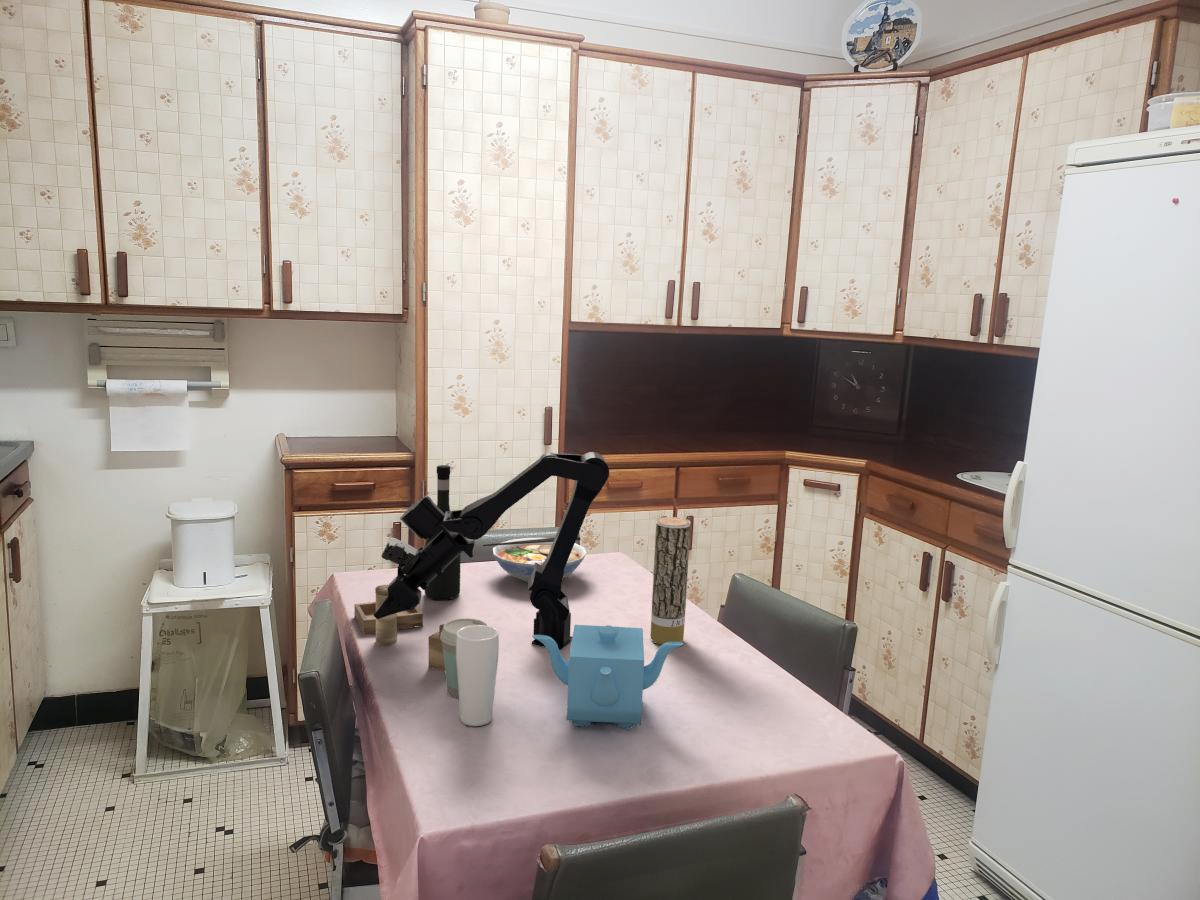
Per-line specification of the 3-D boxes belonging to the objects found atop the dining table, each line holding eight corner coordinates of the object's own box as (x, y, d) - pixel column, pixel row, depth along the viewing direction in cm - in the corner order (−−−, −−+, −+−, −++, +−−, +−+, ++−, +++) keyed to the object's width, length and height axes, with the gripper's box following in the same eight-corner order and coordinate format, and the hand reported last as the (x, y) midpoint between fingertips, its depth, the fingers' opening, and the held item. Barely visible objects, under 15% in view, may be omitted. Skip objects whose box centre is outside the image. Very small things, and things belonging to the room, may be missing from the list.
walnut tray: (411, 610, 191) (411, 597, 191) (422, 626, 182) (423, 613, 182) (354, 616, 186) (354, 604, 186) (363, 633, 177) (363, 620, 177)
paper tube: (645, 643, 178) (651, 522, 174) (656, 631, 185) (662, 515, 180) (677, 649, 176) (684, 527, 171) (687, 637, 182) (694, 519, 178)
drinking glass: (462, 733, 139) (464, 643, 137) (449, 714, 145) (450, 627, 142) (503, 725, 142) (505, 636, 140) (488, 707, 148) (490, 622, 146)
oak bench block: (437, 661, 165) (437, 621, 164) (484, 672, 162) (484, 630, 160) (428, 667, 163) (428, 626, 161) (475, 678, 159) (476, 636, 158)
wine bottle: (417, 595, 201) (417, 465, 196) (444, 587, 207) (446, 461, 202) (439, 604, 196) (440, 471, 190) (467, 595, 202) (469, 466, 196)
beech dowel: (401, 640, 175) (401, 586, 173) (388, 647, 171) (388, 592, 169) (383, 636, 176) (383, 583, 174) (371, 643, 173) (371, 589, 171)
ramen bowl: (500, 599, 200) (501, 564, 199) (477, 569, 221) (477, 537, 220) (603, 590, 209) (605, 557, 208) (571, 562, 230) (572, 531, 229)
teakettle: (606, 680, 161) (609, 602, 158) (684, 717, 147) (688, 633, 145) (524, 710, 148) (526, 626, 145) (602, 754, 134) (605, 663, 132)
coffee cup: (479, 705, 149) (481, 638, 146) (431, 699, 150) (432, 632, 148) (495, 684, 157) (497, 620, 155) (450, 678, 158) (450, 614, 156)
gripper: (414, 514, 179) (358, 565, 180) (400, 539, 161) (339, 596, 162) (452, 552, 181) (397, 602, 182) (443, 581, 163) (382, 637, 164)
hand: (379, 608), depth 172 cm, fingers open, 9 cm apart
